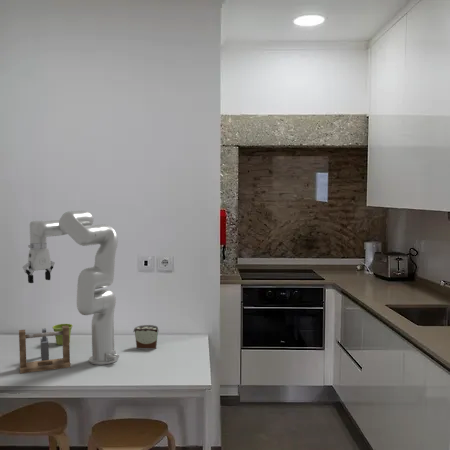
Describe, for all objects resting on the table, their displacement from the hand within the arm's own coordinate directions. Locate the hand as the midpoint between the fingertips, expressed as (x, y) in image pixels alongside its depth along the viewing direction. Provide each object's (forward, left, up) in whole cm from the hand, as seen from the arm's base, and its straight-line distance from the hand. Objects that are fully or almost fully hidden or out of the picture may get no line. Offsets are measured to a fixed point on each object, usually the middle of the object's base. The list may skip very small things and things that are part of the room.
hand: (39, 281), depth 258 cm
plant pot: (-8, -6, -31) cm, 33 cm away
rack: (-30, +20, -31) cm, 48 cm away
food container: (-46, -26, -31) cm, 62 cm away
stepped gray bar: (-21, +13, -31) cm, 40 cm away
